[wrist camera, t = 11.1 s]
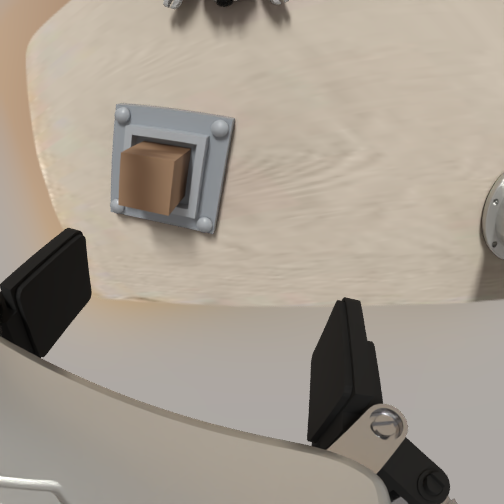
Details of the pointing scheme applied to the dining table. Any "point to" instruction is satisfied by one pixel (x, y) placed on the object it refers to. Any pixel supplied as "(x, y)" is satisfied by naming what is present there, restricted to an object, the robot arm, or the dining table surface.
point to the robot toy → (221, 0)
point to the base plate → (200, 165)
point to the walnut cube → (153, 176)
